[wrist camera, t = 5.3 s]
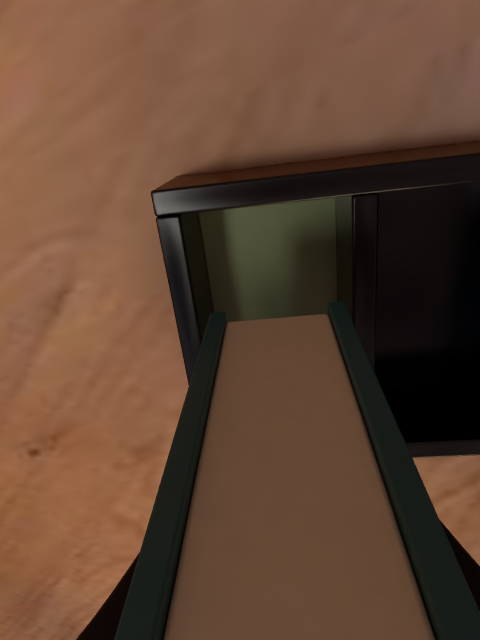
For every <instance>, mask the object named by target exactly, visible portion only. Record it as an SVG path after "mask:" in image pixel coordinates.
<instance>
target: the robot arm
mask: <svg viewBox="0 0 480 640" xmlns="http://www.w3.org/2000/svg"><path fill="white" fill-rule="evenodd" d="M440 523H441V525H442V527H443V529H444V532H445V534H446V536H447V539H448V541H449V543H450V545H451V548H452V550H453V552H454V554H455V557H456V559H457V561H458V564H459V566H460V568H461V570H462V573H463V575H464V577H465V580H466V582H467V584H468V586H469V589H470V591H471V593H472V595H473V598H474V600H475V602H476V605H477V607H478V609H479V611H480V566H479V565H478V564H477V563H476V561H475V560H474V559H473V558H472V557H471V556H470V555H469V554H468V552H467V551H466V550H465V549H464V548H463V547H462V546H461V544H460V543H459V542H458V541H457V540H456V539H455V537H454V536H453V535H452V534H451V533H450V531H449V530H448V529H447V528H446V527H445V526H444V524H443V523H442V522H441V521H440ZM139 554H140V552H139ZM139 554H138V555H137V557H136V558H135V560H134V561H133V563H132V564H131V566H130V567H129V569H128V570H127V572H126V573H125V574H124V576H123V577H122V579H121V580H120V582H119V583H118V585H117V586H116V588H115V589H114V590H113V592H112V593H111V595H110V596H109V597H108V599H107V600H106V601H105V603H104V604H103V606H102V607H101V608H100V610H99V611H98V612H97V614H96V615H95V616H94V618H93V619H92V620H91V621H90V623H89V624H88V625H87V627H86V628H85V629H84V630H83V632H82V633H81V634H80V635H79V637H78V638H77V639H76V640H114V639H115V635H116V632H117V628H118V625H119V622H120V618H121V615H122V612H123V608H124V605H125V601H126V598H127V595H128V591H129V588H130V584H131V581H132V578H133V574H134V571H135V567H136V564H137V561H138V557H139Z"/></svg>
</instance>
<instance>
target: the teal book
mask: <svg viewBox="0 0 480 640" xmlns="http://www.w3.org/2000/svg"><path fill="white" fill-rule="evenodd" d="M114 640H480V611H479V609H478V607H477V605H476V602H475V600H474V598H473V595H472V593H471V591H470V589H469V586H468V584H467V582H466V580H465V577H464V575H463V573H462V570H461V568H460V566H459V564H458V561H457V559H456V557H455V554H454V552H453V550H452V548H451V545H450V543H449V541H448V539H447V536H446V534H445V532H444V529H443V527H442V525H441V523H440V520H439V518H438V516H437V513H436V511H435V509H434V507H433V504H432V502H431V500H430V498H429V495H428V493H427V491H426V488H425V486H424V484H423V482H422V479H421V477H420V475H419V472H418V470H417V468H416V466H415V463H414V461H413V459H412V457H411V454H410V452H409V450H408V447H407V445H406V443H405V441H404V438H403V436H402V434H401V432H400V429H399V427H398V425H397V422H396V420H395V418H394V416H393V413H392V411H391V409H390V406H389V404H388V402H387V400H386V397H385V395H384V393H383V391H382V388H381V386H380V384H379V381H378V379H377V377H376V375H375V372H374V370H373V368H372V365H371V363H370V361H369V359H368V356H367V354H366V352H365V350H364V347H363V345H362V343H361V340H360V338H359V336H358V334H357V331H356V329H355V327H354V324H353V322H352V320H351V318H350V315H349V313H348V311H347V309H346V306H345V304H344V302H343V301H339V302H329V303H328V315H327V314H320V315H308V316H296V317H284V318H272V319H260V320H248V321H236V322H228V323H227V320H226V313H225V312H224V311H223V312H212V313H210V317H209V320H208V323H207V327H206V330H205V334H204V337H203V340H202V344H201V347H200V351H199V354H198V357H197V361H196V364H195V367H194V371H193V374H192V378H191V381H190V384H189V388H188V391H187V395H186V398H185V401H184V405H183V408H182V412H181V415H180V418H179V422H178V425H177V428H176V432H175V435H174V439H173V442H172V445H171V449H170V452H169V456H168V459H167V462H166V466H165V469H164V473H163V476H162V479H161V483H160V486H159V490H158V493H157V496H156V500H155V503H154V506H153V510H152V513H151V517H150V520H149V523H148V527H147V530H146V534H145V537H144V540H143V544H142V547H141V551H140V554H139V557H138V561H137V564H136V567H135V571H134V574H133V578H132V581H131V584H130V588H129V591H128V595H127V598H126V601H125V605H124V608H123V612H122V615H121V618H120V622H119V625H118V628H117V632H116V635H115V639H114Z"/></svg>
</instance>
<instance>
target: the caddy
mask: <svg viewBox="0 0 480 640" xmlns="http://www.w3.org/2000/svg"><path fill="white" fill-rule="evenodd" d="M151 197H152V202H153V207H154V212H155V215H156V216H158V217H157V218H156V222H157V227H158V233H159V238H160V243H161V248H162V253H163V258H164V263H165V268H166V273H167V278H168V283H169V288H170V293H171V298H172V303H173V308H174V313H175V318H176V323H177V328H178V333H179V338H180V343H181V348H182V353H183V358H184V364H185V369H186V374H187V379H188V384H190V381H191V378H192V374H193V371H194V367H195V364H196V361H197V357H198V354H199V351H200V347H201V344H202V340H203V337H204V334H205V330H206V327H207V323H208V320H209V317H210V313H212V312H223V311H224V312H225V313H226V320H227V323H228V322H236V321H248V320H260V319H272V318H284V317H296V316H308V315H320V314H327V315H328V303H329V302H339V301H343V302H344V304H345V306H346V309H347V311H348V313H349V315H350V318H351V320H352V322H353V324H354V327H355V329H356V331H357V334H358V336H359V338H360V340H361V343H362V345H363V347H364V350H365V352H366V354H367V356H368V359H369V361H370V363H371V365H372V368H373V370H374V372H375V375H376V377H377V379H378V381H379V384H380V386H381V388H382V391H383V393H384V395H385V397H386V400H387V402H388V404H389V406H390V409H391V411H392V413H393V416H394V418H395V420H396V422H397V425H398V427H399V429H400V432H401V434H402V436H403V438H404V441H405V443H406V445H407V447H408V450H409V452H410V454H411V457H412V458H427V457H448V456H469V455H480V141H472V142H463V143H455V144H446V145H438V146H429V147H421V148H412V149H404V150H396V151H387V152H379V153H370V154H362V155H353V156H345V157H336V158H328V159H320V160H311V161H303V162H294V163H286V164H277V165H269V166H260V167H252V168H244V169H235V170H227V171H218V172H210V173H201V174H193V175H185V176H176V177H175V178H174V179H172V180H170V181H169V182H167V183H165V184H163V185H162V186H160V187H158V188H156V189H155V190H153V191H151Z"/></svg>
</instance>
